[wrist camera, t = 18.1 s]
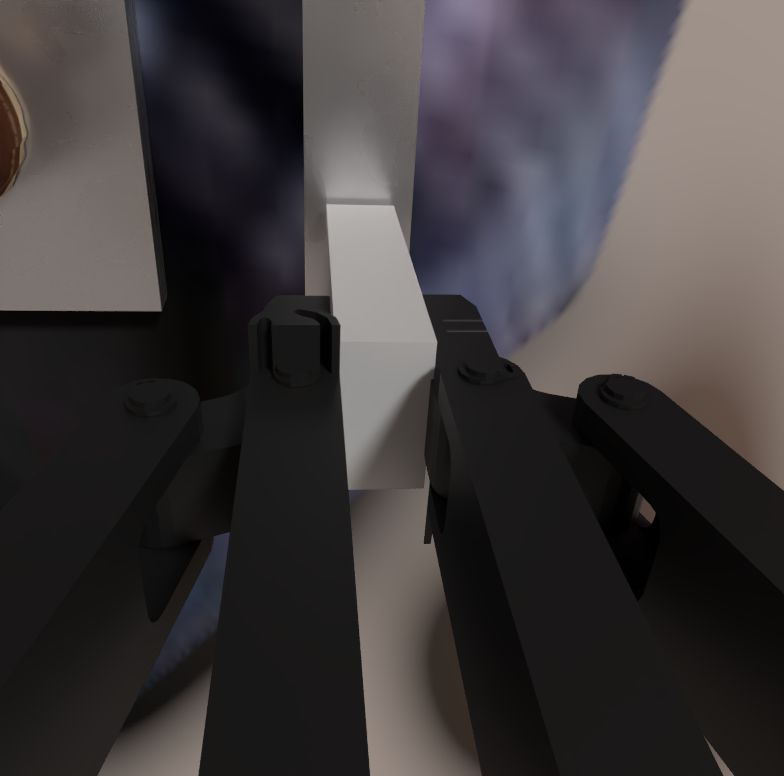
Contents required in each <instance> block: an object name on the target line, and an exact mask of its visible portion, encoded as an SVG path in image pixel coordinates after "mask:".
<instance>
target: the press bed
mask: <svg viewBox="0 0 784 776" xmlns="http://www.w3.org/2000/svg"><path fill="white" fill-rule="evenodd" d="M0 76H1V77H2V79H3V80H4V81H5V82H6V83H7V84H8V86H9V87H10V88H11V90H12V91H13V93H14V94H15V96H16V98H17V100H18V102H19V105H20V107H21V110H22V113H23V119H24V124H25V127H26V130H27V136H26V141H25V142H24V151H25V154H26V155H25V157H24V161H23V162H22V163H21V164H20V167H19V169H18V171H17V173H16V177H15V181H14V183H13V185H12V188H11V189H10V190H9V191H8V192H7V193H6V194H5V195H4V196H2V197H0V310H19V311H162V309H163V307H164V304H165V301H166V299H167V296H168V294H167V285H166V276H165V267H164V259H163V250H162V241H161V233H160V224H159V215H158V206H157V198H156V189H155V180H154V172H153V163H152V154H151V145H150V137H149V128H148V119H147V111H146V102H145V93H144V85H143V76H142V67H141V58H140V50H139V41H138V32H137V24H136V15H135V6H134V0H0Z"/></svg>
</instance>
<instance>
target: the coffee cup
mask: <svg viewBox="0 0 784 776" xmlns="http://www.w3.org/2000/svg"><path fill="white" fill-rule="evenodd" d="M26 136H27V130H26V127H25V124H24V119H23V113H22V110H21V107H20V105H19V102H18V100H17V98H16V96H15V94H14V93H13V91H12V90H11V88H10V87H9V86H8V84H7V83H6V82H5V81H4V80H3V79H2V77H1V76H0V197H2V196H4V195H5V194H6V193H7V192H8V191H9V190H10V189H11V188H12V185H13V183H14V181H15V177H16V173H17V171H18V169H19V167H20V164H21V163H22V162H23V161H24V157H25V155H26V154H25V151H24V142H25V141H26Z"/></svg>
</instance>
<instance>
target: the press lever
mask: <svg viewBox="0 0 784 776" xmlns="http://www.w3.org/2000/svg"><path fill="white" fill-rule="evenodd" d="M302 8H303V110H304V211H305V296H326V204H336V205H382V206H394V208H395V211H396V214H397V218H398V221H399V224H400V227H401V230H402V233H403V236H404V240H405V243H406V246H407V249H408V252H409V245H410V229H411V214H412V198H413V183H414V167H415V152H416V136H417V121H418V105H419V90H420V74H421V59H422V43H423V28H424V12H425V0H302Z"/></svg>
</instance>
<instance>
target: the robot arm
mask: <svg viewBox="0 0 784 776" xmlns="http://www.w3.org/2000/svg"><path fill="white" fill-rule="evenodd" d="M248 338H249V356H250V383H249V385H248V386H246V387H245V388H243V389H242V390H240V391H238V392H235V393H233V394H231V395H228V396H224V397H220V398H216V399H212V400H206V401H201V402H200V397H199V395H198V393H197V390H196V389H195V388H193V387H192V386H190V385H188V384H187V383H185V382H181V381H177V380H173V379H158V378H148V379H146V380H144V379H142V380H137V381H134V382H132V383H129V384H126V385H124V386H121V387H119V388H117V389H115V390H114V391H113V392H111V393H110V394H109V395H107V396H106V397H105V398H104V399H103V400H102V401H101V402H100V403H99V404H98V405H97V407H96V408H95V409H94V410H93V411H92V412H91V413H90V414H89V415H88V416H87V417H86V418H85V420H84V421H83V422H82V423H81V424H80V425H79V426H78V427H77V428H76V429H75V430H74V431H73V433H72V434H71V435H70V436H69V437H68V438H67V439H66V440H65V441H64V442H63V443H62V444H61V446H60V447H59V448H58V449H57V450H56V451H55V452H54V453H53V454H52V455H51V456H50V458H49V459H48V460H47V461H46V462H45V463H44V464H43V465H42V466H41V467H40V468H39V469H38V471H37V472H36V473H35V474H34V475H33V476H32V477H31V478H30V479H29V480H28V481H27V482H26V484H25V485H24V486H23V487H22V488H21V489H20V490H19V491H18V492H17V493H16V494H15V495H14V497H13V498H12V499H11V500H10V501H9V502H8V503H7V504H6V505H5V506H4V507H3V509H2V510H1V511H0V776H97V775H98V773H99V771H100V769H101V767H102V765H103V763H104V761H105V759H106V757H107V755H108V753H109V752H110V749H111V748H112V746H113V744H114V742H115V740H116V738H117V736H118V734H119V732H120V730H121V728H122V726H123V724H124V722H125V720H126V718H127V716H128V714H129V712H130V710H131V708H132V706H133V704H134V702H135V700H136V698H137V696H138V694H139V692H140V690H141V688H142V686H143V684H144V682H145V681H146V679H147V677H148V675H149V673H150V671H151V669H152V667H153V665H154V663H155V661H156V659H157V657H158V655H159V653H160V651H161V649H162V647H163V645H164V643H165V641H166V639H167V637H168V635H169V633H170V631H171V629H172V627H173V625H174V623H175V621H176V619H177V617H178V615H179V613H180V611H181V609H182V608H183V606H184V604H185V602H186V600H187V598H188V596H189V594H190V592H191V590H192V588H193V586H194V584H195V582H196V580H197V578H198V576H199V574H200V572H201V570H202V568H203V566H204V564H205V562H206V560H207V558H208V556H209V554H210V552H211V550H212V545H213V540H214V537H213V536H216V535H220V534H224V533H228V532H230V537H229V545H228V552H227V560H226V568H225V575H224V583H223V591H222V598H221V606H220V614H219V622H218V629H217V637H216V646H215V653H214V661H213V668H212V676H211V683H210V691H209V699H208V706H207V714H206V722H205V730H204V737H203V745H202V753H201V760H200V768H199V776H370V769H369V756H368V744H367V730H366V718H365V704H364V690H363V677H362V664H361V651H360V637H359V624H358V611H357V598H356V584H355V571H354V558H353V545H352V531H351V518H350V505H349V492H348V490H363V489H411V488H424V479H425V467H426V466H427V471H428V475H429V479H430V486H429V496H428V506H427V517H426V526H425V536H424V544H430V543H431V537H432V534H433V538H434V542H435V548H436V553H437V557H438V562H439V567H440V572H441V577H442V582H443V587H444V592H445V597H446V602H447V606H448V611H449V616H450V621H451V626H452V631H453V636H454V641H455V645H456V651H457V655H458V660H459V665H460V670H461V675H462V680H463V685H464V690H465V695H466V699H467V704H468V709H469V714H470V719H471V724H472V729H473V734H474V739H475V744H476V749H477V753H478V758H479V763H480V768H481V773H482V776H723V774H722V772H721V770H720V768H719V766H718V764H717V762H716V760H715V758H714V756H713V754H712V752H711V750H710V748H709V746H708V744H707V742H706V740H705V738H706V739H707V740H708V742H709V743H710V744H711V746H712V747H713V748H714V750H715V751H716V752H717V753H718V755H719V756H720V757H721V759H722V760H723V761H724V763H725V764H726V765H727V767H728V768H729V769H730V771H731V772H732V773H733V775H734V776H784V491H783V490H782V489H781V488H779V487H778V486H777V485H776V484H775V483H773V482H772V481H771V480H770V479H768V478H767V477H766V476H765V475H763V474H762V473H761V472H760V471H759V470H757V469H756V468H755V467H754V466H752V465H751V464H750V463H749V462H747V461H746V460H745V459H744V458H742V457H741V456H740V455H739V454H738V453H736V452H735V451H734V450H733V449H731V448H730V447H729V446H728V445H726V444H725V443H724V442H723V441H722V440H720V439H719V438H718V437H717V436H715V435H714V434H713V433H712V432H711V431H709V430H708V429H707V428H706V427H704V426H703V425H702V424H701V423H700V422H698V421H697V420H696V419H695V418H693V417H692V416H691V415H690V414H688V413H687V412H686V411H685V410H684V409H682V408H681V407H680V406H679V405H677V404H676V403H675V402H674V401H672V400H671V399H670V398H669V397H668V396H666V395H665V394H664V393H663V392H661V391H660V390H658V389H657V388H655V387H653V386H652V385H650V384H649V383H646V382H644V381H640V380H638V379H635V378H634V377H632V376H627V375H624V376H622V375H621V374H611V375H596V376H593V377H590V378H586V379H585V380H584V381H583V382H582V383H581V384H580V385H579V389H578V394H577V398H576V399H575V398H569V397H564V396H558V395H552V394H547V393H543V392H539V391H536V390H533V389H532V387H531V385H530V383H529V381H528V379H527V377H526V375H525V373H524V372H523V371H522V370H521V369H520V367H518V366H517V365H516V364H514V363H512V362H510V361H509V360H507V359H504V358H501V357H499V356H498V353H497V351H496V349H495V347H494V345H493V343H492V340H491V338H490V336H489V334H488V332H486V327H485V325H484V323H483V321H482V318H481V316H480V314H479V312H478V310H477V308H476V306H475V305H474V304H472V303H471V302H469V301H468V300H467V299H465V298H464V297H462V296H461V295H422V293H421V290H420V286H419V283H418V280H417V277H416V274H415V271H414V268H413V265H412V261H411V258H410V255H409V252H408V249H407V246H406V243H405V240H404V236H403V233H402V230H401V227H400V224H399V221H398V218H397V214H396V211H395V208H394V206H382V205H336V204H326V296H297V295H277V296H276V297H275V298H274V299H273V300H271V301H270V302H269V303H268V304H267V305H266V306H265V307H264V311H262V312H261V313H259V314H257V315H256V316H254V317H252V319H251V321H250V322H249V324H248ZM643 498H644V499H645V500H646V501H647V502H648V503H649V504H650V505H651V506H652V508H653V509H654V510H655V512H656V515H655V518H654V521H653V523H650V522H649V521H648V520H646V518H645V517H644V516H643V515H642V514H641V513H640V512H639V511H640V508H641V504H642V501H643ZM703 735H704V736H705V738H704V736H703Z"/></svg>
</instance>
